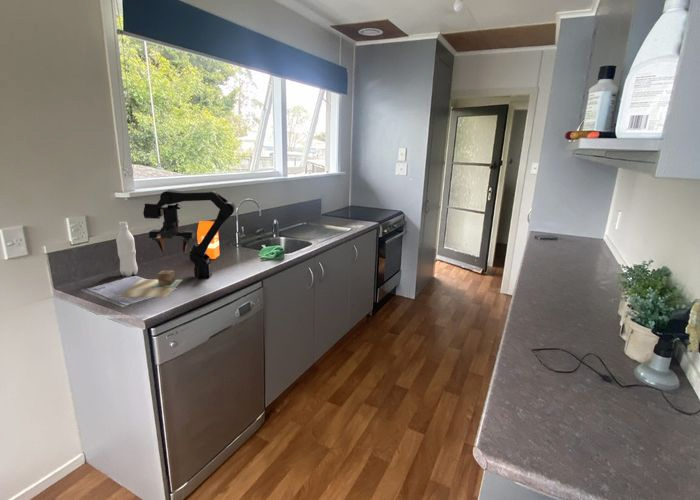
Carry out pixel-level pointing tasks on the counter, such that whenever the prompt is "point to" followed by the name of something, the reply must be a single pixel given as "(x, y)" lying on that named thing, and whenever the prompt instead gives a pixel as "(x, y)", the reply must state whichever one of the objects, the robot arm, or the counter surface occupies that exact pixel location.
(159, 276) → the walnut block
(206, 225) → the orange juice
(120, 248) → the water bottle
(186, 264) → the counter surface
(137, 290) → the birch board
